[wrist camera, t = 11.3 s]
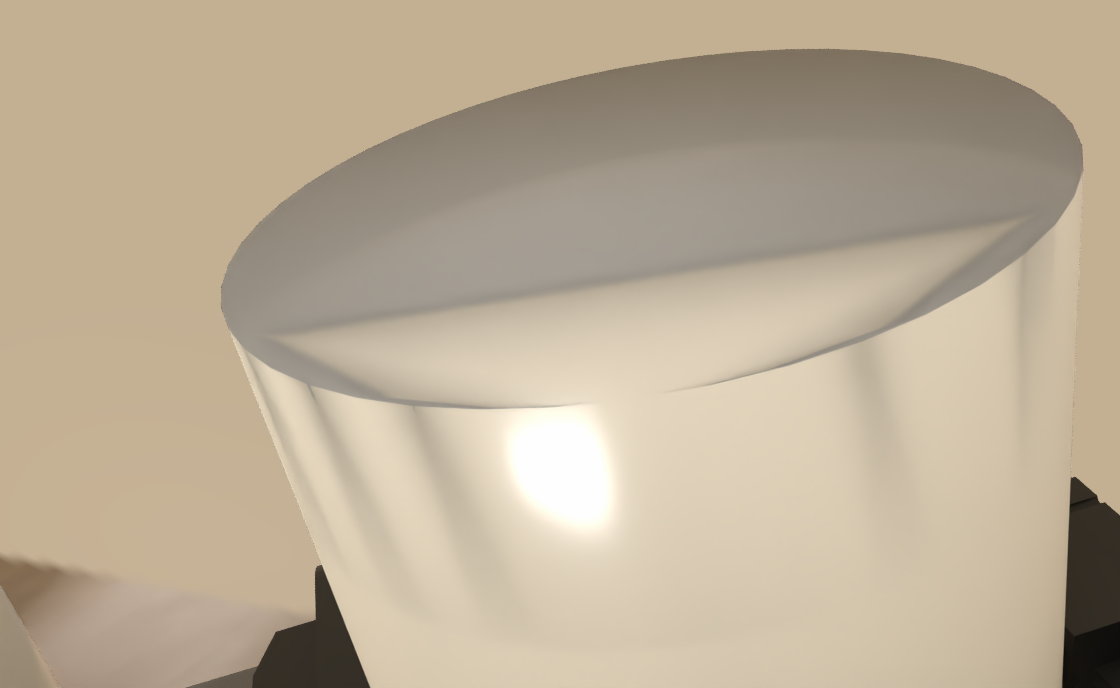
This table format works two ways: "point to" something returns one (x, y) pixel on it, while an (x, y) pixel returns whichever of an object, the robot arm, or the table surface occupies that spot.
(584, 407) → the marked fuse
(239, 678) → the block
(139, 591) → the table surface
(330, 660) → the robot arm
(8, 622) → the cylinder
